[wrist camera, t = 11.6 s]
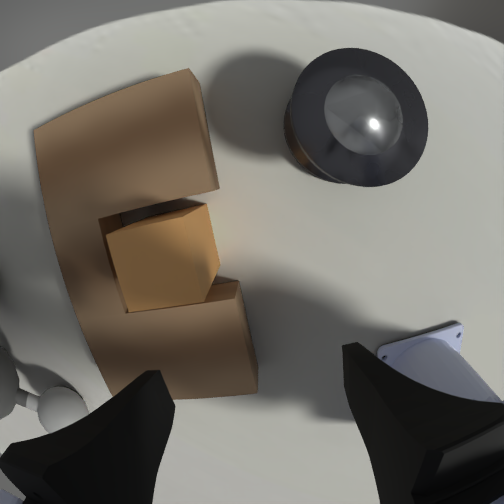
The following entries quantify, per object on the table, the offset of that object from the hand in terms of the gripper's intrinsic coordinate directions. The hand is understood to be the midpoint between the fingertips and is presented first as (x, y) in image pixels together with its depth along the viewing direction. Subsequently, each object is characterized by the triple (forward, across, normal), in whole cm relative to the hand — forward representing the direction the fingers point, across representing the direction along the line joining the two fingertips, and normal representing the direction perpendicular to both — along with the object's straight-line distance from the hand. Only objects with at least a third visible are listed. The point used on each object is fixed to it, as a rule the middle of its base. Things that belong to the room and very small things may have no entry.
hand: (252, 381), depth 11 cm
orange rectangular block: (+10, +4, -4) cm, 11 cm away
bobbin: (+9, -7, -10) cm, 15 cm away
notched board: (+9, +6, -4) cm, 12 cm away
